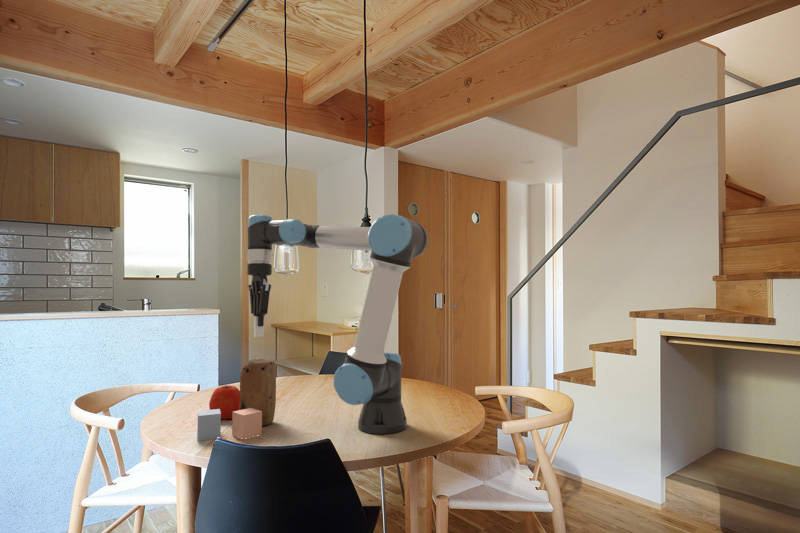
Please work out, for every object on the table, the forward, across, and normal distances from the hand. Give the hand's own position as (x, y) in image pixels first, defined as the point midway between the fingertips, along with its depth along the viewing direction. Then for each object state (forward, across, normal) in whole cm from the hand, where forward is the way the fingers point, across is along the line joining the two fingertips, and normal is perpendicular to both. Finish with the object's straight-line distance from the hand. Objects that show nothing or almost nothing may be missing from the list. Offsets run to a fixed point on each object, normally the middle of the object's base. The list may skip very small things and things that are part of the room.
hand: (258, 336), depth 150 cm
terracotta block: (+28, -10, +7) cm, 30 cm away
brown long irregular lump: (+28, 0, 0) cm, 28 cm away
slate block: (+28, -4, +16) cm, 32 cm away
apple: (+28, +14, +5) cm, 32 cm away
